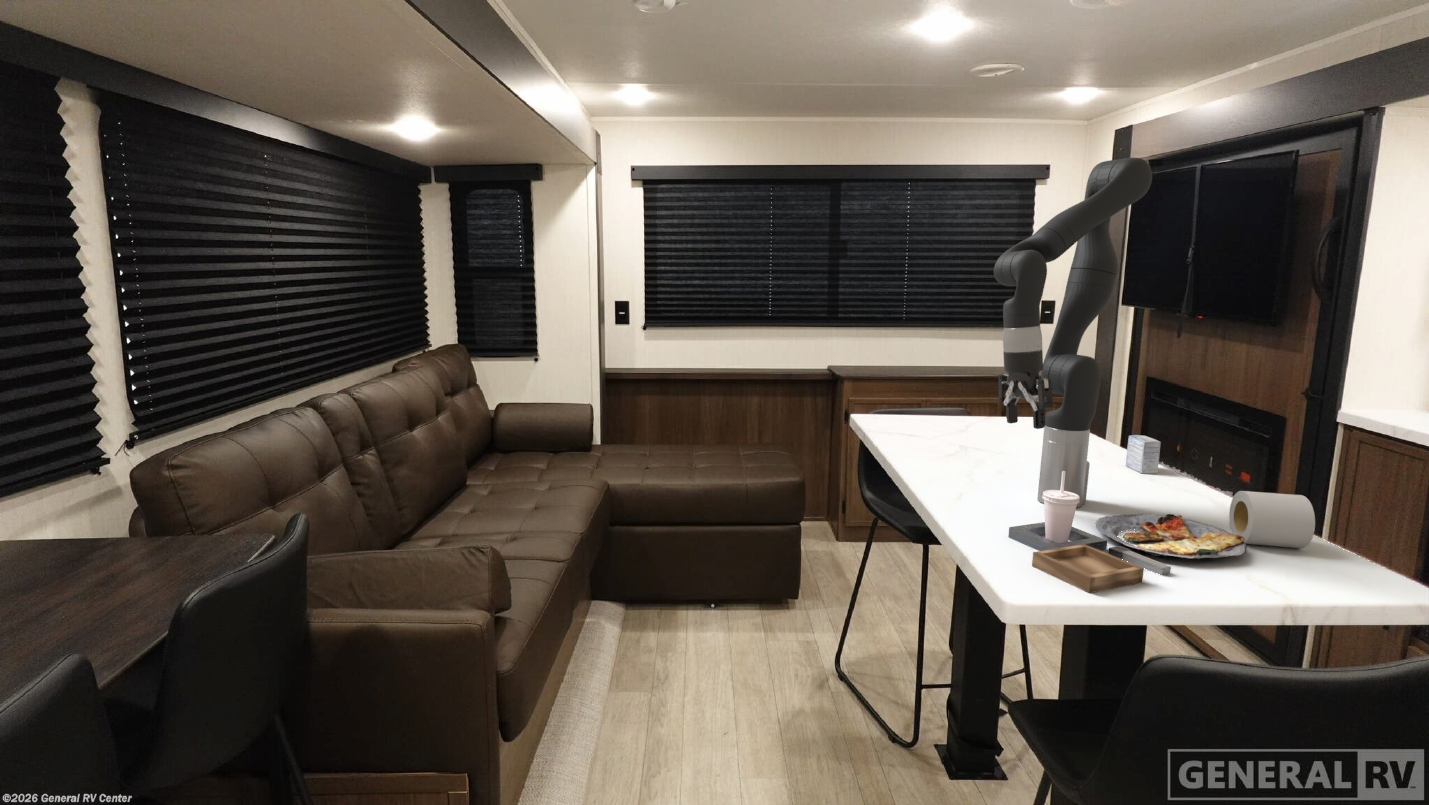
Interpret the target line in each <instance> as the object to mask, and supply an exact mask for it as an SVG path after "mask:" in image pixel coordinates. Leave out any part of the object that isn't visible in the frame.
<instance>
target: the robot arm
mask: <svg viewBox="0 0 1429 805" xmlns="http://www.w3.org/2000/svg"><path fill="white" fill-rule="evenodd" d="M1152 181H1153V171H1152V168H1151V166H1150V164H1149V163H1148V162H1147V161H1146V160H1145V159H1143V158H1140V157H1124V158H1119V159H1110V160H1105V161H1102V162H1099V163H1098V164H1096V165H1095V166H1094V167H1093V168H1092V169H1091V171H1090V173H1089V176H1088V179H1087V182H1086V188H1085V192H1084V198H1083V200H1082V201H1080V202H1077V203H1076V204H1074V205H1072V206H1070V207H1068V208H1067V209H1065V210H1063V211H1061V212H1059V213H1057V214H1056V215H1055V216H1053V217H1052V218H1051V219H1049V220H1048V221H1047V222H1046V223H1045V224H1044V225H1042V226H1041V227H1040V228H1039V229H1037V231H1035V233H1034V234H1032V235H1031V236H1029V237H1026V238H1025V239H1023V240H1022V241H1020V242H1018V243H1017V244H1015V245H1013V246H1012V247H1010V248H1009V249H1008V248H1007V250H1005V252H1003V253H1002V254H1001V255H1000V256H999V257H998V258H997V260H996V261H995V263H994V267H993V276H994V279H995V280H996V281H997V283H999V284H1001V285H1002V286H1005V287H1016V288H1015V291H1014V295H1013V297H1012V298H1009V299H1007V300H1005V301H1004V304H1003V306H1002V307H1003V308H1002V311H1003V312H1002V315H1003V316H1002V318H1003V335H1002V347H1003V348H1002V350H1003V351H1002V352H1003V353H1002V354H1003V370H1004V372H1005V373H1004V374H1003V373H1002V374H999V375H998V379H997V383H998V385H997V386H998V388H997V392H998V395H997V396H998V397H997V398H998V401H999V403H1003V406H1005V415H1006V416H1005V417H1006V418H1005V419H1006V422H1007V424H1017V423H1018V418H1019V417H1018V416H1019V415H1018V414H1019V413H1018V404H1017V403H1018V401H1019V399H1020V398H1023V399H1025V400H1026V402H1027V403H1029V404H1030V405H1031V408H1032V409H1033V411H1032V418H1033V420H1032V422H1033V423H1032V424H1033V425H1032V426H1033V428H1034V429H1036V430H1040V429H1043V437H1042V446H1041V458H1040V459H1041V460H1040V466H1039V478H1038V489H1037V498H1036V499H1037V500H1038V501H1039V502H1040V503H1042V504H1044V499H1043V498H1042V496H1043V492H1044V491H1047V490H1060V489H1061V479H1062V471H1065V481H1064V491H1068V492H1072V493H1075V494H1077V495H1078V496H1079V497H1080V498H1079V503H1078V504H1077V506H1076V508H1080V507H1082V506H1083V505H1084V504H1086V502H1087V493H1088V483H1089V473H1090V465H1091V464H1090V461H1088V452H1089V442H1090V435H1091V434H1090V433H1091V425H1092V422H1093V419H1094V418H1095V415H1096V411H1097V406H1098V401H1099V394H1100V387H1101V381H1102V380H1101V379H1102V371H1101V366H1100V364H1099V361H1097V359H1095V358H1093V357H1091V356H1089V355H1088V356H1087V355H1083V354H1081V355H1080V354H1078V352H1079V348H1080V344H1081V342H1082V338H1083V336H1084V334H1085V333H1086V331H1087V330H1088V328H1089V326H1090V325H1091V324H1092V323H1093V321H1094V320H1095V319H1096V318H1097V317H1098V316H1099V314H1100V313H1101V312H1102V311H1103V310H1104V309H1105V307H1106V306H1107V304H1108V303H1109V302H1110V300H1111V298H1112V295H1113V291H1114V288H1115V284H1116V280H1117V275H1118V271H1119V261H1118V257H1117V254H1116V250H1115V247H1114V244H1113V241H1112V238H1111V234H1110V223H1111V218H1112V217H1113V216H1114V215H1116V214H1117V213H1119V212H1120V211H1122V210H1124V209H1126V208H1127V207H1129V206H1130V205H1133V204H1134V203H1136V202H1138V201H1139V200H1140V199H1142V198H1143V197H1144V196H1145V195H1146V194H1147V193H1148V191H1149V190H1150V188H1151V185H1152ZM1075 244H1076V246H1075V251H1074V256H1073V258H1072V262H1071V266H1070V269H1069V273H1068V277H1067V278H1068V279H1067V281H1066V286H1065V292H1064V296H1063V300H1062V303H1061V307H1060V311H1059V314H1058V319H1057V322H1056V325H1055V328H1054V332H1053V334H1052V336H1051V339H1050V342H1049V346H1048V348H1047V351H1046V354H1045V357H1044V358H1043V354H1044V353H1043V352H1044V351H1043V336H1042V335H1043V334H1042V330H1041V328H1042V327H1041V312H1040V311H1041V310H1040V306H1041V302H1042V299H1043V295H1044V289H1045V285H1046V281H1047V275H1048V267H1047V263H1050V262H1053V261H1055V260H1057V259H1059V258H1060V257H1061V256H1062V255H1063V254H1064V253H1066V252H1068V250H1069V249H1070V248H1071V247H1072V246H1074V245H1075ZM1004 392H1005V395H1004ZM1053 394H1054V395H1060V396H1063V400H1062V403H1061V406H1060V407H1059V408H1057V409H1054V410H1049V411H1047V412H1046V410H1047V409H1050V408H1051V409H1052V408H1053V407H1054V404H1053V403H1054V402H1053V398H1054V397H1053ZM1045 397H1046V401H1045ZM1037 402H1038V403H1037Z"/></svg>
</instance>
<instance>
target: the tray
mask: <svg viewBox="0 0 1429 805" xmlns="http://www.w3.org/2000/svg"><path fill="white" fill-rule="evenodd" d="M1031 566H1032V567H1033V568H1036V569H1038V570H1040V571H1042V572H1044V573H1046V574H1049V575H1050V576H1053V577H1055V578H1057V579H1058V580H1060V581H1063V582H1065V583H1067V584H1070V585H1071V586H1073V587H1075V588H1077V589H1080V590H1082V591H1084V592H1086V593H1088V594H1090V593H1091V594H1092V593H1095V592H1096V593H1097V592H1100V591H1106V590H1111V589H1116V588H1121V587H1126V586H1132V585H1136V584H1142V583H1143V578H1144V572H1145V571H1144V570H1145V569H1144V568H1142V567H1140V566H1137V565H1135V564H1132V563H1130V562H1127V561H1125V560H1122V559H1120V558H1117V557H1115V556H1112V555H1110V554H1108V553H1107V552H1106V551H1100V550H1098V549H1095V548H1093V547H1090V546H1088V545H1085V544H1082V545H1075V546H1069V547H1063V548H1057V549H1051V550H1044V551H1039V550H1037V551H1033V552H1032V560H1031Z"/></svg>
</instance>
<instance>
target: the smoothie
mask: <svg viewBox="0 0 1429 805" xmlns="http://www.w3.org/2000/svg"><path fill="white" fill-rule="evenodd" d="M1064 481H1065V471H1062V479H1061V489H1060V490H1047V491H1044V492H1043V496H1042V498H1043V499H1044V503H1043V507H1044V522H1045V536H1044V537H1045V538H1047V539H1049V540H1052V541H1054V542H1057V543H1062V542H1069V540H1068V539H1069V535H1070V531H1071V527H1073V522H1074V519H1075V516H1076V515H1075V514H1076V510H1077V507H1076V506H1077V504H1078V503H1079V498H1080V497H1079V496H1078V495H1077V494H1075V493H1072V492H1068V491H1064Z"/></svg>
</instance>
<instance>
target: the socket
mask: <svg viewBox="0 0 1429 805" xmlns="http://www.w3.org/2000/svg"><path fill="white" fill-rule="evenodd" d="M1007 537H1008V538H1010V539H1012V540H1014V541H1016V542H1019V543H1021V544H1023V545H1025V546H1027V547H1030V548H1031V549H1032V548H1033V549H1034V550H1037V551H1044V550H1051V549H1057V548H1063V547H1069V546H1075V545H1082V544H1085V545H1088V546H1090V547H1093V548H1095V549H1098V550H1100V551H1103V552H1106V551H1107V547H1108V539H1105V538H1103V537H1100V536H1097V535H1095V534H1092V533H1090V532H1087V531H1085V530H1082V529H1079V528H1076V527H1074V526H1072V527H1071V531H1070V535H1069V539H1068V542H1062V543H1057V542H1054V541H1052V540H1049V539H1047V538H1045V521H1043V522H1042V521H1041V522H1036V523H1029V524H1028V523H1027V524H1023V525H1015V526H1009V527H1008V536H1007Z"/></svg>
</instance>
